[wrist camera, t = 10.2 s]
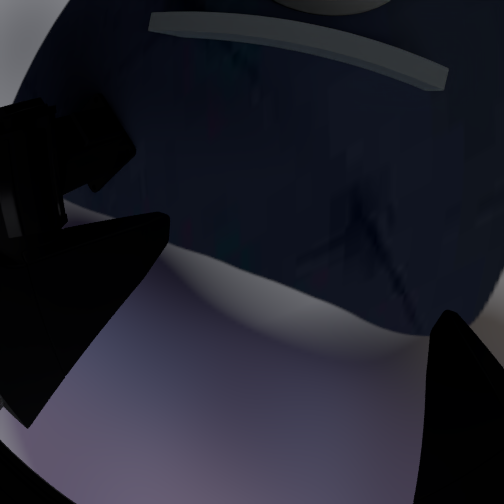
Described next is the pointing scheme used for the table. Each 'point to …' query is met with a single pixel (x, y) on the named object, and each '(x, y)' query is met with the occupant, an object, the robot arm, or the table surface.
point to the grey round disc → (332, 6)
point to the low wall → (305, 43)
